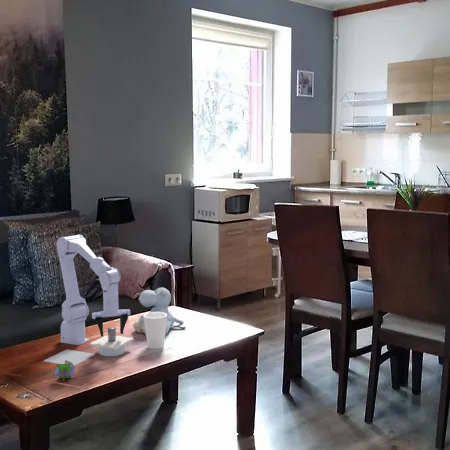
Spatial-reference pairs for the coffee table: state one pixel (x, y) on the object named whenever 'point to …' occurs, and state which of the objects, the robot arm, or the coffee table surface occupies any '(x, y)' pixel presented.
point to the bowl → (111, 351)
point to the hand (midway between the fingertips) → (111, 334)
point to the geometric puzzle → (65, 370)
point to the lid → (112, 340)
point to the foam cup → (155, 329)
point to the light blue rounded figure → (156, 308)
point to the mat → (69, 357)
